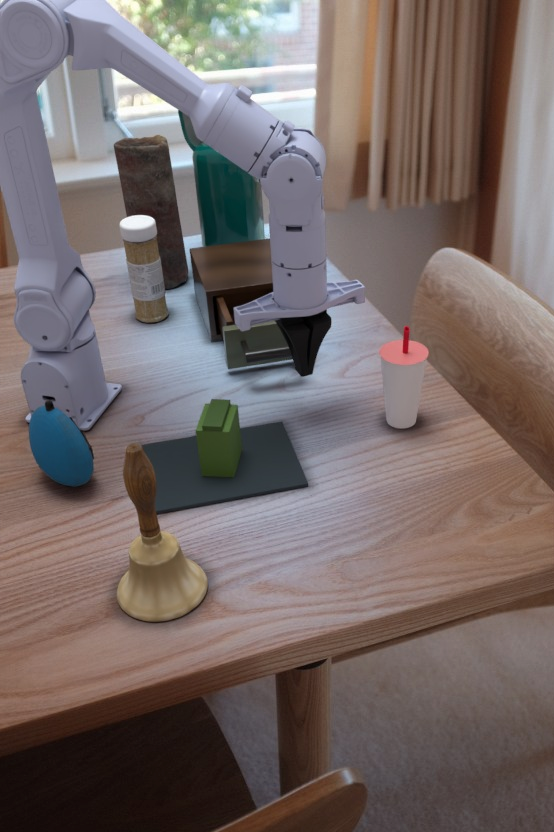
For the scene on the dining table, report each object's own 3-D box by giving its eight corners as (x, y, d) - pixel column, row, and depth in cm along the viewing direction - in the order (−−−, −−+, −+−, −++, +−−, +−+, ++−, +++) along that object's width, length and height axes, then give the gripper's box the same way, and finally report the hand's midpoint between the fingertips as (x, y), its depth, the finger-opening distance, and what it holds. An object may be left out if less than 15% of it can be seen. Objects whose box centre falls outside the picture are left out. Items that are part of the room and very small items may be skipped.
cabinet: (297, 329, 121) (295, 279, 116) (211, 341, 118) (205, 291, 114) (275, 285, 131) (272, 237, 126) (195, 296, 128) (189, 248, 124)
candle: (127, 286, 131) (102, 144, 118) (150, 265, 136) (128, 127, 123) (176, 293, 129) (156, 149, 116) (197, 271, 134) (180, 131, 122)
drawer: (318, 373, 110) (317, 335, 107) (234, 387, 108) (230, 347, 105) (287, 311, 123) (285, 275, 119) (210, 322, 120) (206, 285, 117)
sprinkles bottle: (158, 305, 126) (143, 210, 118) (175, 317, 124) (161, 221, 115) (129, 315, 124) (112, 219, 115) (145, 327, 121) (130, 230, 113)
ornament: (112, 483, 95) (95, 403, 89) (78, 506, 93) (58, 425, 86) (61, 455, 99) (41, 377, 93) (27, 476, 96) (3, 396, 90)
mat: (308, 486, 95) (308, 483, 94) (155, 514, 91) (154, 511, 91) (282, 424, 104) (282, 421, 103) (141, 447, 100) (141, 444, 100)
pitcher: (267, 245, 141) (258, 95, 127) (256, 268, 135) (244, 113, 121) (206, 242, 142) (190, 93, 128) (192, 265, 136) (173, 111, 122)
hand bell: (100, 611, 81) (63, 469, 71) (142, 551, 87) (114, 412, 77) (185, 631, 79) (159, 488, 69) (222, 568, 85) (203, 428, 75)
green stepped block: (234, 477, 95) (228, 426, 91) (201, 476, 96) (194, 425, 91) (242, 450, 99) (237, 399, 95) (210, 448, 99) (204, 398, 95)
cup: (427, 432, 102) (433, 337, 94) (379, 434, 102) (381, 339, 94) (421, 406, 106) (426, 313, 98) (376, 408, 106) (377, 315, 98)
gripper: (345, 230, 99) (346, 341, 108) (219, 256, 94) (231, 370, 103) (374, 255, 94) (373, 368, 103) (243, 283, 89) (253, 400, 98)
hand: (303, 371), depth 102 cm, fingers closed
